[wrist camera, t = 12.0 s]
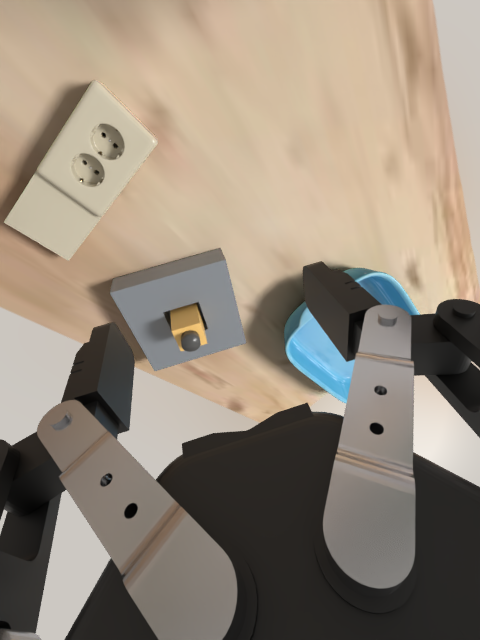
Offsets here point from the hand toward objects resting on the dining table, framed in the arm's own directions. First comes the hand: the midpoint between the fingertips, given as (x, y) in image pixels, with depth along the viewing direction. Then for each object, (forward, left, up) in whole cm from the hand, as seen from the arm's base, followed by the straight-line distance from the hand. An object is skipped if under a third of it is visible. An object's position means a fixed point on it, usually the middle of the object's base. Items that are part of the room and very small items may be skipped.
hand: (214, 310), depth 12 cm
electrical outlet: (+10, -2, -31) cm, 32 cm away
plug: (+5, +19, -29) cm, 35 cm away
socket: (+5, +19, -30) cm, 36 cm away
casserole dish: (-24, +36, -31) cm, 53 cm away
